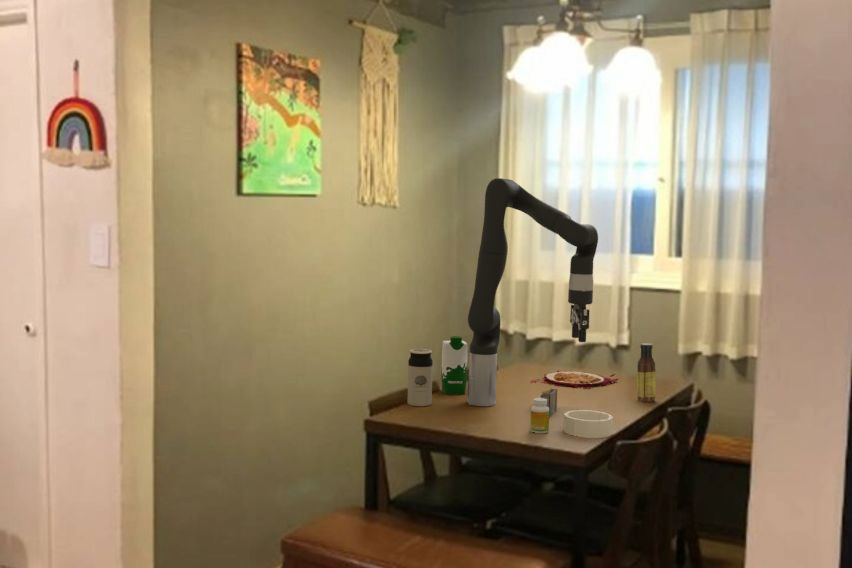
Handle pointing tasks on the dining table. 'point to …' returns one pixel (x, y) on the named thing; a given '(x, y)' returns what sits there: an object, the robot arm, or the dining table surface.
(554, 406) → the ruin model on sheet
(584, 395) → the dining table surface
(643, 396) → the sauce bottle
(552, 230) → the robot arm
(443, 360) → the milk carton
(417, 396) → the travel mug
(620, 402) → the dining table surface
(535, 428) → the supplement bottle
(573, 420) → the bowl
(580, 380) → the plate with food
